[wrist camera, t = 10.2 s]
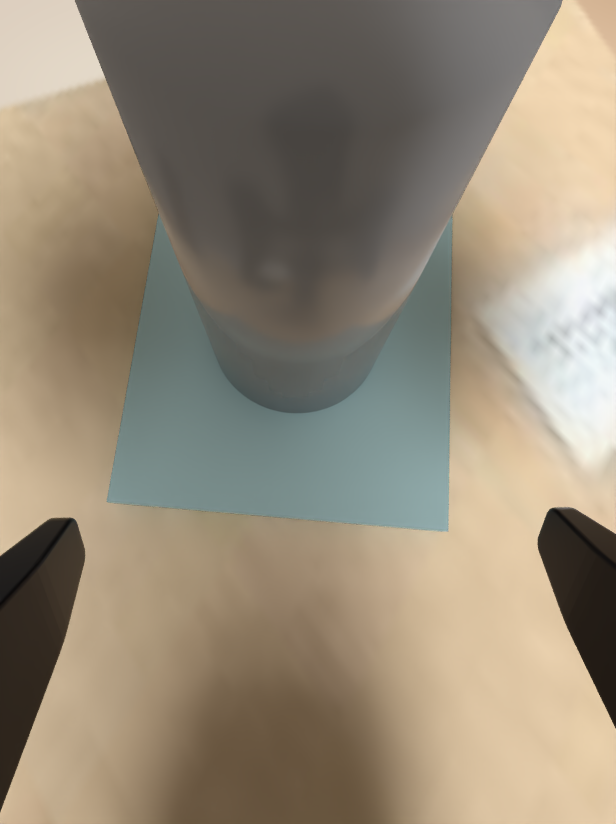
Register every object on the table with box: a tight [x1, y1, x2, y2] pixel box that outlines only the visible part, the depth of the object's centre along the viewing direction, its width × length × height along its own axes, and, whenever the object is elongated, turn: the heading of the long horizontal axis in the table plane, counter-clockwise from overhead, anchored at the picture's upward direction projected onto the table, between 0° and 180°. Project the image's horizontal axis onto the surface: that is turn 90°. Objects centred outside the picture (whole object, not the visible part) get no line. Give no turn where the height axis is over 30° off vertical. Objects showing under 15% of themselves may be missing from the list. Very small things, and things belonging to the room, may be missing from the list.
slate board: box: [107, 214, 452, 531], centre depth 19 cm, size 14×12×1 cm
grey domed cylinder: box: [75, 0, 562, 413], centre depth 12 cm, size 6×6×13 cm
